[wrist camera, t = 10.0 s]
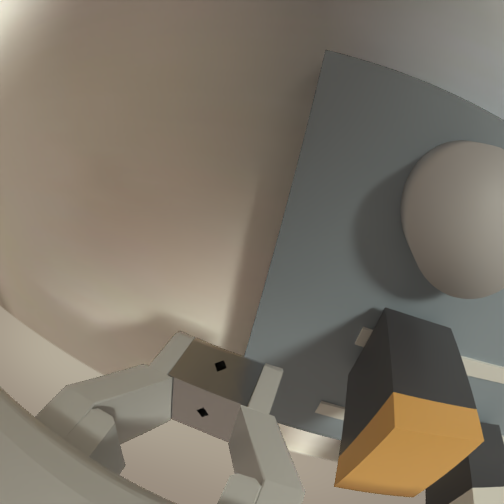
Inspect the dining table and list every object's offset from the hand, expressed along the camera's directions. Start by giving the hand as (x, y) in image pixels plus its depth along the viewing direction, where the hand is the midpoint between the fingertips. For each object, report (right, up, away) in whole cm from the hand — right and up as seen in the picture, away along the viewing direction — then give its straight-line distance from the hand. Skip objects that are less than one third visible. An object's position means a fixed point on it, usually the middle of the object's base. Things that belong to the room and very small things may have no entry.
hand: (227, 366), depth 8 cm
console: (+13, -1, +2) cm, 13 cm away
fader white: (+10, -6, +2) cm, 12 cm away
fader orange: (+5, 0, +1) cm, 6 cm away
